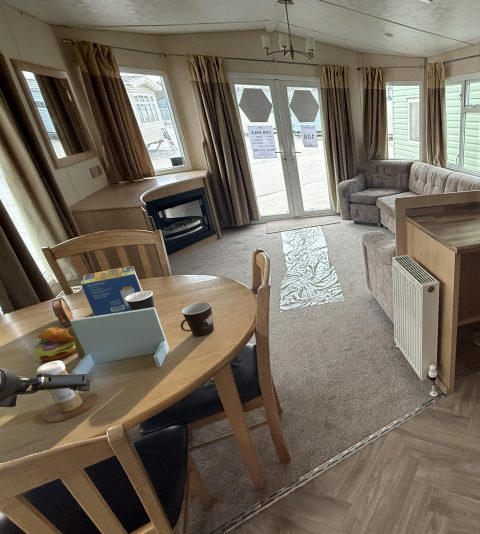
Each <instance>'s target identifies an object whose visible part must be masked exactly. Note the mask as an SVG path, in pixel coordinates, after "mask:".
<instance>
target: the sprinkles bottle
mask: <svg viewBox="0 0 480 534" xmlns="http://www.w3.org/2000/svg"><path fill="white" fill-rule="evenodd" d="M36 373H37V374H36V375H38V374H41V373H43V374H69V373H68V372H67V370H66V366H65V363H64V362H63V361H62V360H52V361H50V362H46V363H44V364H42V365H40V366H39V367H38V368H37V369H36ZM47 391H48V394H49V395H50V397H51V399H52V400H53V402H54V403H55V404H56V405H57V407H58V408H59V411H60V412H67V411H71V410H73V409H75V408H77V407H78V406H80V405H81V404H82V402H83V400H82V399H81V398H80V396H79V394H80V393H79V390H76V391H73V390H70V388H65V389H54V390H47Z"/></svg>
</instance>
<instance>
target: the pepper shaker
mask: <svg viewBox="0 0 480 534" xmlns="http://www.w3.org/2000/svg"><path fill="white" fill-rule="evenodd" d="M69 327H70V328H69ZM69 327H68V328H69V329H68V333H69V335H70V336H72V337H73V338H74V342H75V346H76V353H77V358H78V359H79V360H82V359H83V358H84V356H85V355H86V354H85V352H84V350H83V348H82V346H81V344H80V342H79V339H78V337H77V335H76V333H75V331H74V329H73V327H72V325H71V326H69Z"/></svg>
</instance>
